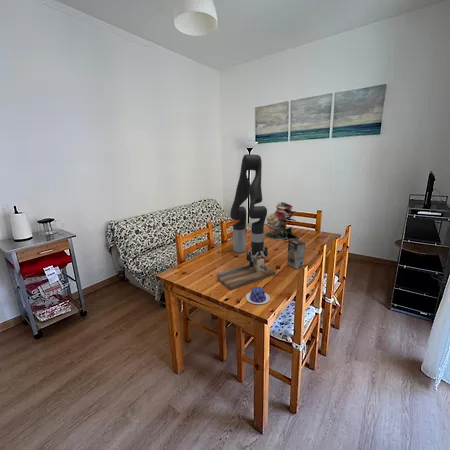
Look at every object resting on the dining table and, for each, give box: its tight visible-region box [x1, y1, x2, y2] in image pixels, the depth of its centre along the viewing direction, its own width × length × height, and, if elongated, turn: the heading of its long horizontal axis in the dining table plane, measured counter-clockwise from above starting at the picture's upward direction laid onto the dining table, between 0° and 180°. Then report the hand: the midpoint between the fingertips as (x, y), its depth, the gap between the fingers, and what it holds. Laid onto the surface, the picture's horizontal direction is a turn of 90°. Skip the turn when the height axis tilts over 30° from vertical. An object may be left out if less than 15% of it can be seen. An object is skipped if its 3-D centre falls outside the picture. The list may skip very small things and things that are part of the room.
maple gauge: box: [251, 256, 267, 272], centre depth 148 cm, size 12×5×7 cm, turn 32°
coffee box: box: [286, 239, 306, 269], centre depth 157 cm, size 9×6×16 cm
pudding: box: [245, 286, 271, 305], centre depth 123 cm, size 12×12×5 cm
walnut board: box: [216, 263, 277, 291], centre depth 145 cm, size 14×32×4 cm, turn 122°
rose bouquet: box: [264, 201, 300, 241], centre depth 213 cm, size 26×29×30 cm
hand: (257, 265), depth 150 cm, fingers open, 8 cm apart
